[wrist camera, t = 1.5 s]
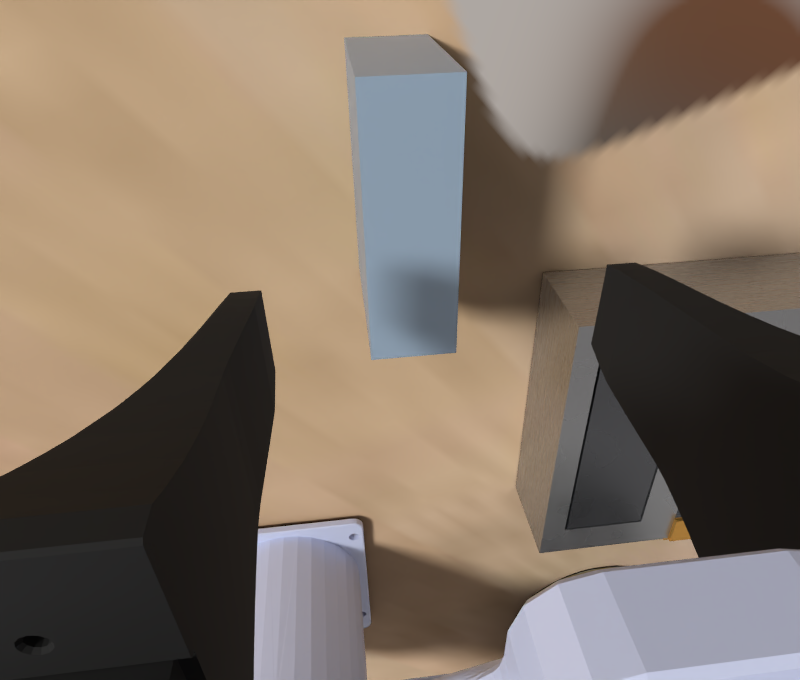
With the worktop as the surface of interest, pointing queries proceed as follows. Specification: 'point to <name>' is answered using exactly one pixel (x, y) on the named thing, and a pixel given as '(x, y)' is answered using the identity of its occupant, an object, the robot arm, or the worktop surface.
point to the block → (407, 189)
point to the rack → (615, 407)
